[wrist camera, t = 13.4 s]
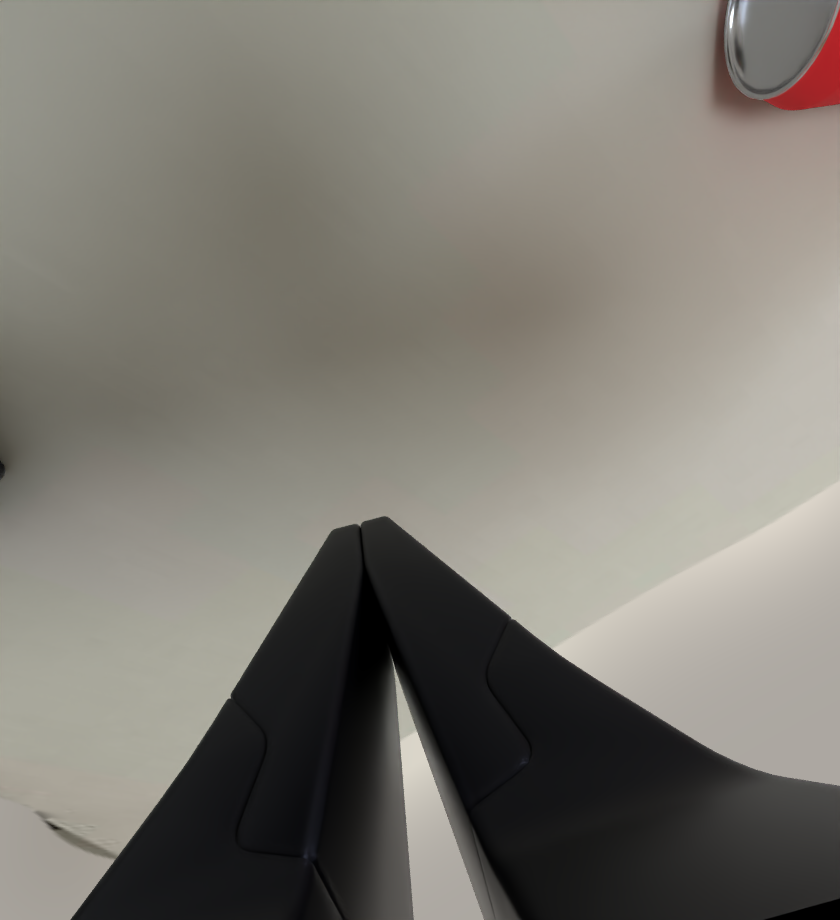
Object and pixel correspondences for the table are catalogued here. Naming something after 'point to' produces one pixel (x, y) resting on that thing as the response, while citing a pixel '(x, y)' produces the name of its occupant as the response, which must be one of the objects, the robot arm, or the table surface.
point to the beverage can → (784, 51)
